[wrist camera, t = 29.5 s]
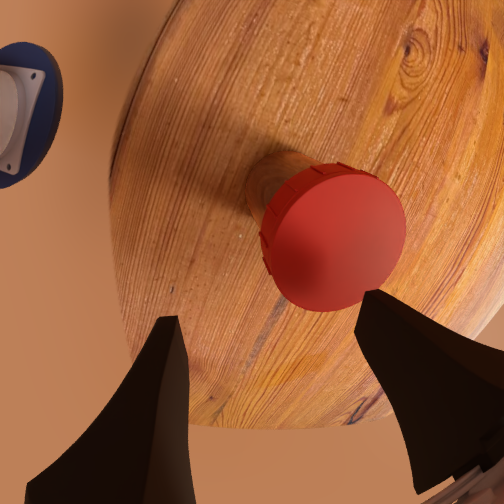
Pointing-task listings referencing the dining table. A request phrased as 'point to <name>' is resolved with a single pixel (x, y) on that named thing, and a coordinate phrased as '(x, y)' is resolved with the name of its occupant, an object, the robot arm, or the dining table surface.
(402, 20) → the dining table surface
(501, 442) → the robot arm
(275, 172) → the jar
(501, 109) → the dining table surface
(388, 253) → the jar lid
